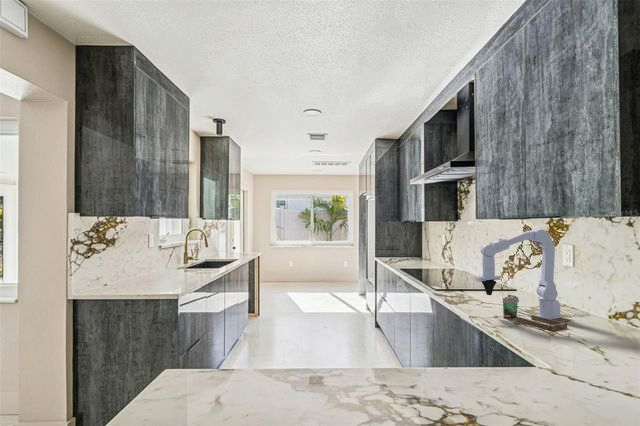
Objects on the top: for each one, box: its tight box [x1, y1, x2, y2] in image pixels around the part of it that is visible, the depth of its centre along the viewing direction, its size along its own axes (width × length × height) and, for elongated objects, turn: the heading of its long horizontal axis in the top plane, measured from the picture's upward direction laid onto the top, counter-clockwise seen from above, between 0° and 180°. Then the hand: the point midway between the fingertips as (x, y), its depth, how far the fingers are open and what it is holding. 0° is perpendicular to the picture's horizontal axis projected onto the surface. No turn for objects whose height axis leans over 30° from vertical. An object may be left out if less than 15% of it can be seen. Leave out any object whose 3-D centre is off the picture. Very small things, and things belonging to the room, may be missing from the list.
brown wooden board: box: [516, 314, 568, 331], centre depth 176 cm, size 11×17×2 cm, turn 23°
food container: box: [502, 294, 520, 320], centre depth 190 cm, size 12×6×10 cm, turn 143°
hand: (489, 294), depth 194 cm, fingers closed
